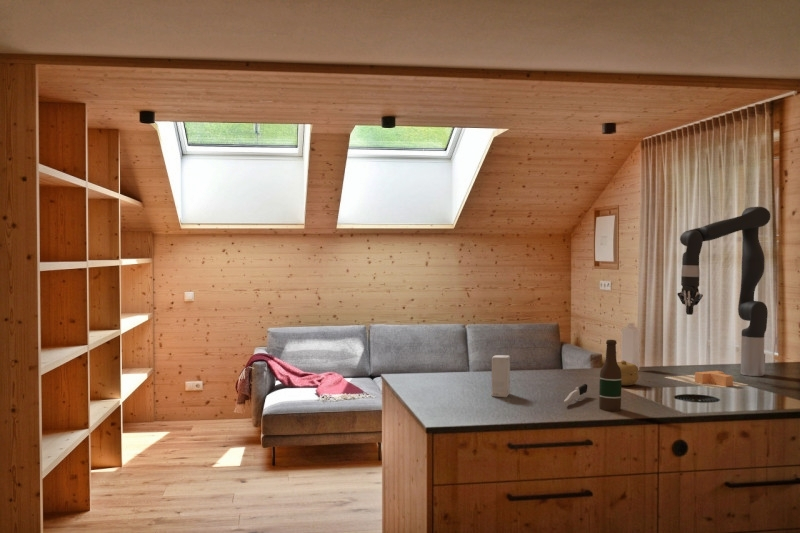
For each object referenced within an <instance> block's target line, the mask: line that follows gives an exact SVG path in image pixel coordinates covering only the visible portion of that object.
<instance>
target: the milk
mask: <svg viewBox="0 0 800 533" xmlns="http://www.w3.org/2000/svg"><path fill="white" fill-rule="evenodd" d="M620 341H621V344H620V345H621V347H620V348H621V349H620V352H621V354H620V355H621V356H620V362H621V361H623V360H624V361H626V363H632V364H635V365H636V366H637V367H638V372H639V371H640V357H641V356H640V349H641V347H640V346H641V330H640V328H638V327H637V326H636V325H635V322H627V325H626V327H624V328H622V329H621V340H620Z"/></svg>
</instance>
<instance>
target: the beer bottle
mask: <svg viewBox="0 0 800 533" xmlns="http://www.w3.org/2000/svg"><path fill="white" fill-rule="evenodd" d="M605 344H606V350H605V351H606V352H605V360H604V363H603V364H602V367H601V368H600V372H599V388H598V389H599V394H598V395H599V396H598V397H599V398H598V399H599V400H598V404H599V406H598V407H599V409H600V410H602V411H606V412H619V411H621V408H622V385H621V379H622V377H621V370H620V367H619V366H618V364H617V362H618V361H617V346H616V345H617V344H618V343H617V340H615V339H606V342H605Z"/></svg>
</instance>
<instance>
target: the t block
mask: <svg viewBox="0 0 800 533" xmlns="http://www.w3.org/2000/svg"><path fill="white" fill-rule="evenodd" d="M694 375H695V382H697V383H701V384H705V383H711V384H716V385H720V386H725V387H724V388H728V387H727V386H733V382H734V375H729V374H725V372H724V371H720V370H708V371H695V372H694ZM733 387H734V386H733Z"/></svg>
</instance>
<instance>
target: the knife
mask: <svg viewBox="0 0 800 533" xmlns="http://www.w3.org/2000/svg"><path fill="white" fill-rule="evenodd" d="M587 392H588V384H587V383H584V384H582V385H580V386H576V387H575V388H574V390H573V391H570V392H569V394H568V395H567V397H565V399H564V400H563V404H564V405H565V406H568V407H569V406H570V405H571V404H572V403H573V402H574V401H575V400H576V401H579V399H580V396H581V395H584V394H586V393H587Z"/></svg>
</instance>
